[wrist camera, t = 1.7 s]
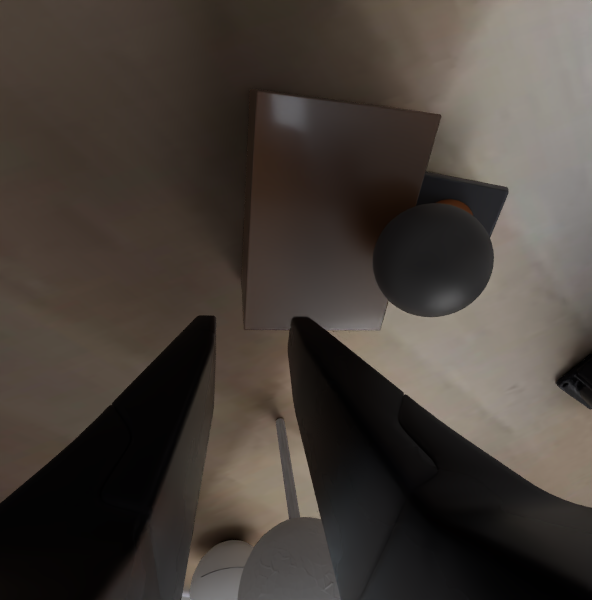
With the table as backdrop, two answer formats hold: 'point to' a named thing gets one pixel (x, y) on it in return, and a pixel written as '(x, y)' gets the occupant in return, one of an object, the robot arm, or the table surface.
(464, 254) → the ball-topped stamp
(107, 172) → the table surface
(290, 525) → the lollipop
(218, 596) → the white oval body
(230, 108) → the table surface
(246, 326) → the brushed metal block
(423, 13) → the table surface
